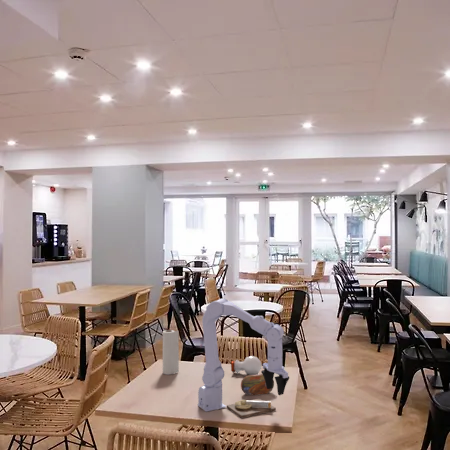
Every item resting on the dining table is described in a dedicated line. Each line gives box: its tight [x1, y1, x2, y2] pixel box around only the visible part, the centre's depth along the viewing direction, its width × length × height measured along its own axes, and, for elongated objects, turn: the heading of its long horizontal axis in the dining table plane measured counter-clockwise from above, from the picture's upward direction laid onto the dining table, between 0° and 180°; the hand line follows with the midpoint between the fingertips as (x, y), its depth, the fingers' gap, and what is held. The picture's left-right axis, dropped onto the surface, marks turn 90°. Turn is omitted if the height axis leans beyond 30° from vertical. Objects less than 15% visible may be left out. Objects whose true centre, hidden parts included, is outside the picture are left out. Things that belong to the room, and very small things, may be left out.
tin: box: [240, 373, 275, 397], centre depth 208 cm, size 15×3×8 cm, turn 105°
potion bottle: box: [230, 355, 262, 376], centre depth 236 cm, size 9×10×15 cm
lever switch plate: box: [226, 398, 277, 419], centre depth 190 cm, size 16×12×1 cm
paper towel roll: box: [162, 329, 180, 375], centre depth 238 cm, size 7×6×21 cm
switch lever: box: [234, 399, 272, 410], centre depth 189 cm, size 14×7×2 cm, turn 84°
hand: (275, 391), depth 184 cm, fingers open, 7 cm apart
